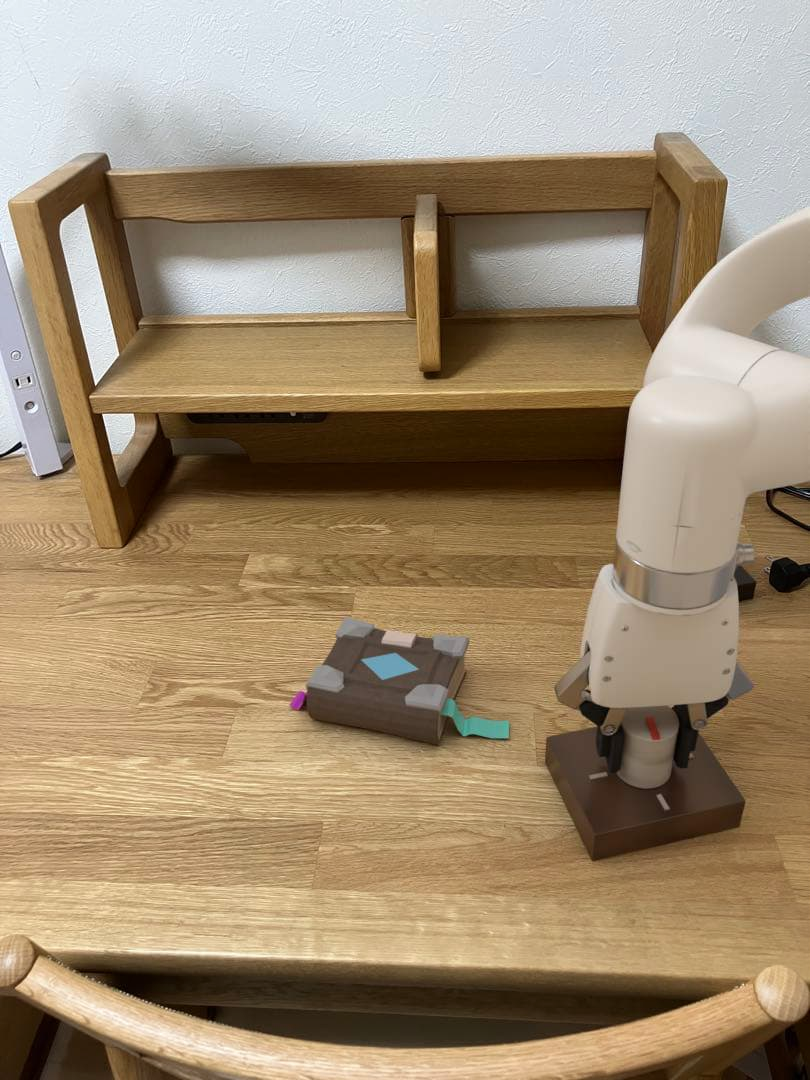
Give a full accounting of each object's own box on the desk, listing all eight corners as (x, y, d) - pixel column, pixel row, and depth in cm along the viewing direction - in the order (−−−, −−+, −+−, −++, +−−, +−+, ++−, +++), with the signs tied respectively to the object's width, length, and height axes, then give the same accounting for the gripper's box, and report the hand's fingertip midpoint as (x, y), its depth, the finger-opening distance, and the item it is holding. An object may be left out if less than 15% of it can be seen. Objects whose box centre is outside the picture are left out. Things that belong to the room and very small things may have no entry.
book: (529, 668, 84) (531, 627, 81) (501, 764, 75) (502, 721, 72) (332, 634, 90) (328, 594, 87) (282, 719, 80) (275, 678, 77)
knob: (607, 747, 72) (613, 696, 69) (662, 744, 72) (670, 693, 69) (619, 790, 68) (626, 739, 65) (677, 787, 68) (687, 736, 65)
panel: (677, 734, 77) (682, 707, 75) (739, 826, 68) (746, 799, 67) (544, 762, 75) (546, 735, 73) (591, 861, 66) (594, 833, 65)
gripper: (777, 525, 62) (735, 715, 72) (534, 540, 62) (526, 728, 72) (823, 590, 56) (770, 788, 66) (554, 606, 56) (542, 802, 66)
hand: (643, 755), depth 69 cm, fingers closed on knob, 4 cm apart
